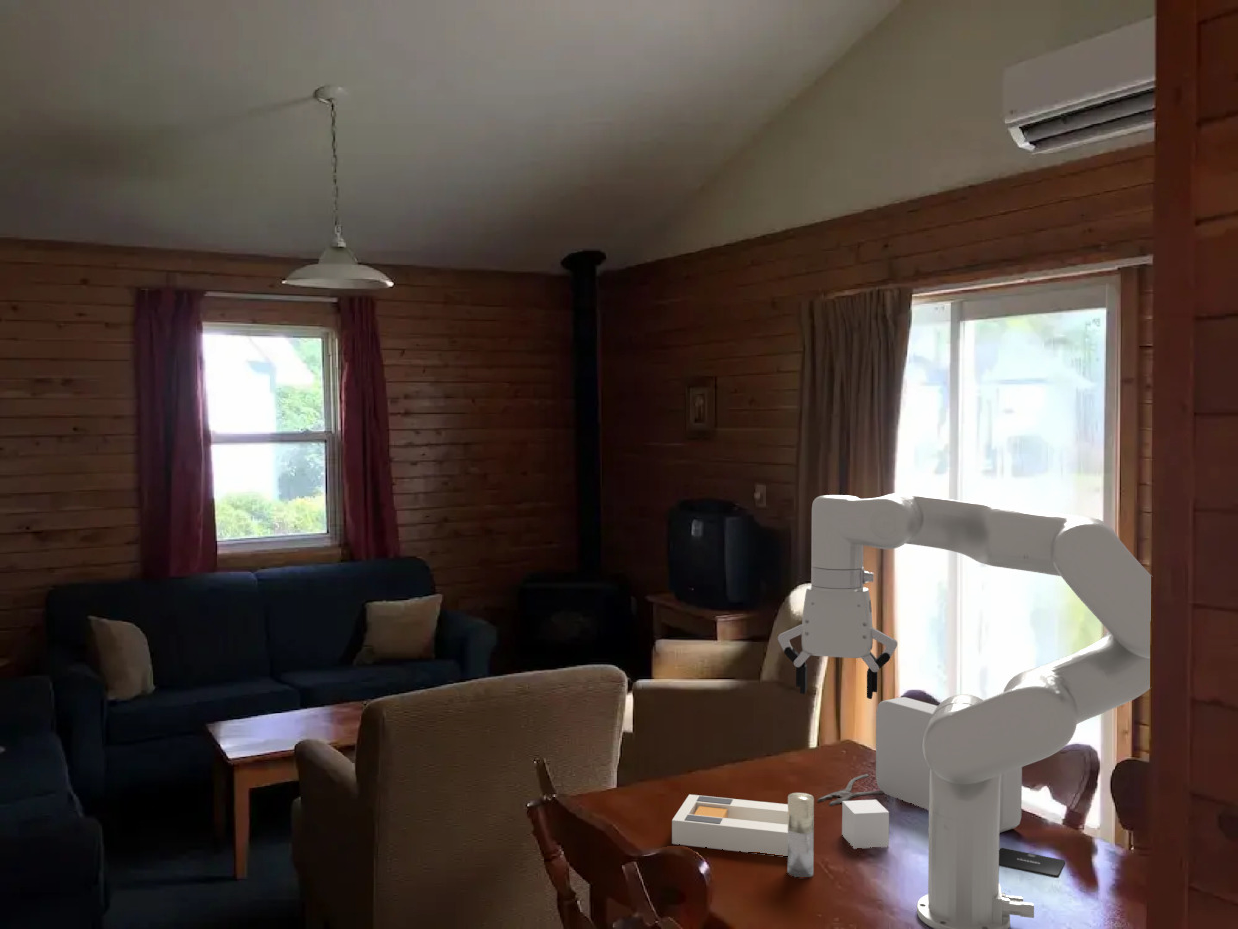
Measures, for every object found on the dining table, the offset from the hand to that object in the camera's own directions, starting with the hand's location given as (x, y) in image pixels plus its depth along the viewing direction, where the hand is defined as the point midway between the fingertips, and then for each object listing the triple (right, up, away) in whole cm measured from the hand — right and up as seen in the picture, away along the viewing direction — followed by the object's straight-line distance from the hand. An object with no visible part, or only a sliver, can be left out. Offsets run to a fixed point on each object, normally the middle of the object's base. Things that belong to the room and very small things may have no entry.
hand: (836, 694), depth 155 cm
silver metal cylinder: (-4, -30, +9) cm, 32 cm away
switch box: (-11, -30, +24) cm, 40 cm away
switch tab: (-16, -28, +26) cm, 42 cm away
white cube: (+9, -30, +22) cm, 38 cm away
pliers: (+14, -30, +46) cm, 56 cm away
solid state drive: (+33, -31, +13) cm, 47 cm away
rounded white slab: (+27, -29, +37) cm, 54 cm away
